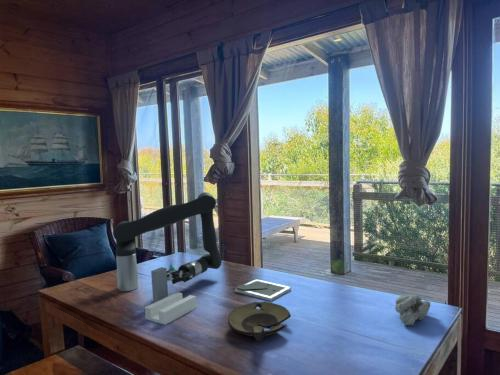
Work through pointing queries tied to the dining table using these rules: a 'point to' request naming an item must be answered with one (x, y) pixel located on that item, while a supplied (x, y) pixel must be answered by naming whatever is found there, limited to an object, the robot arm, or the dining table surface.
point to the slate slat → (159, 284)
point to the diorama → (172, 269)
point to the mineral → (411, 308)
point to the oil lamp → (258, 319)
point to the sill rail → (170, 308)
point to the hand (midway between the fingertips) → (165, 280)
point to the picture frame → (263, 289)
